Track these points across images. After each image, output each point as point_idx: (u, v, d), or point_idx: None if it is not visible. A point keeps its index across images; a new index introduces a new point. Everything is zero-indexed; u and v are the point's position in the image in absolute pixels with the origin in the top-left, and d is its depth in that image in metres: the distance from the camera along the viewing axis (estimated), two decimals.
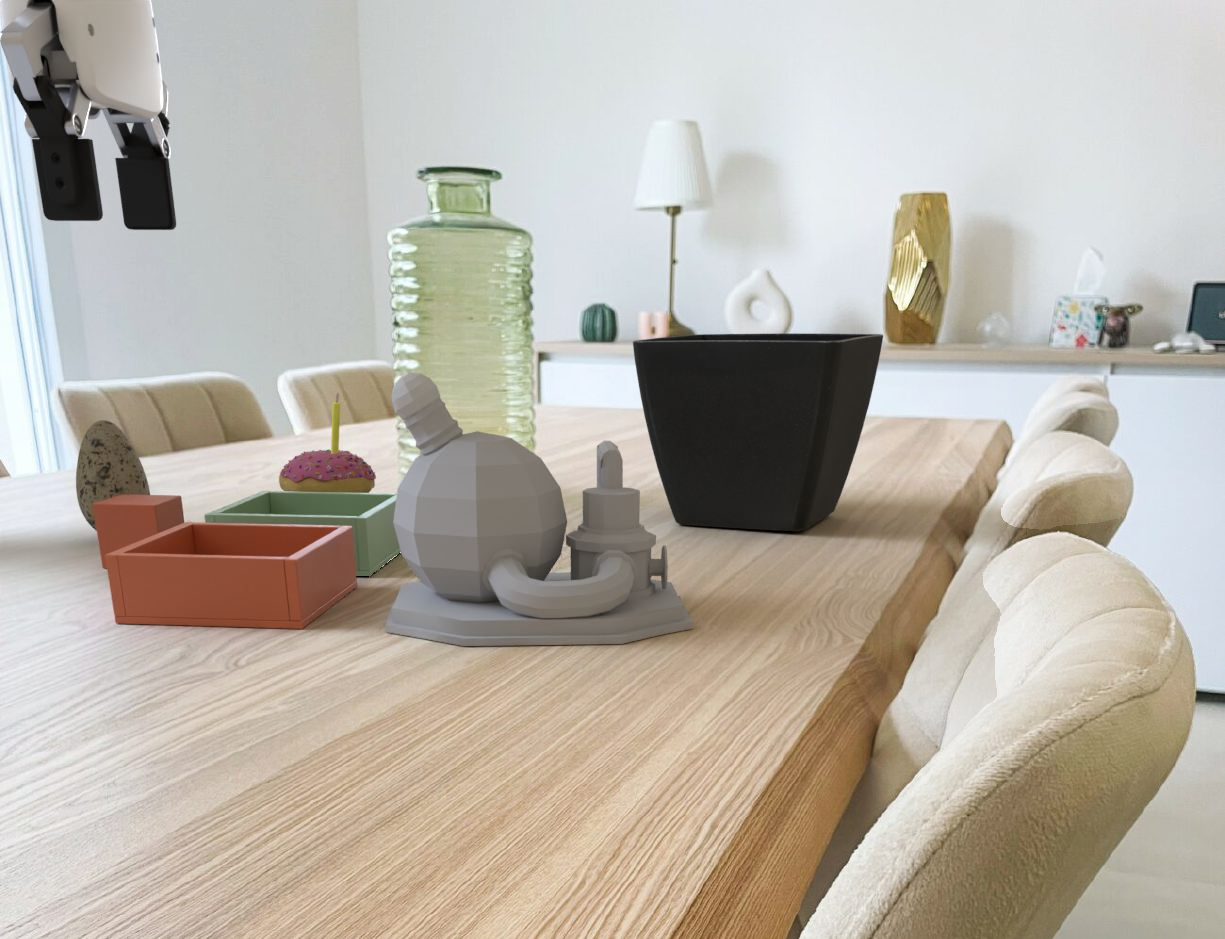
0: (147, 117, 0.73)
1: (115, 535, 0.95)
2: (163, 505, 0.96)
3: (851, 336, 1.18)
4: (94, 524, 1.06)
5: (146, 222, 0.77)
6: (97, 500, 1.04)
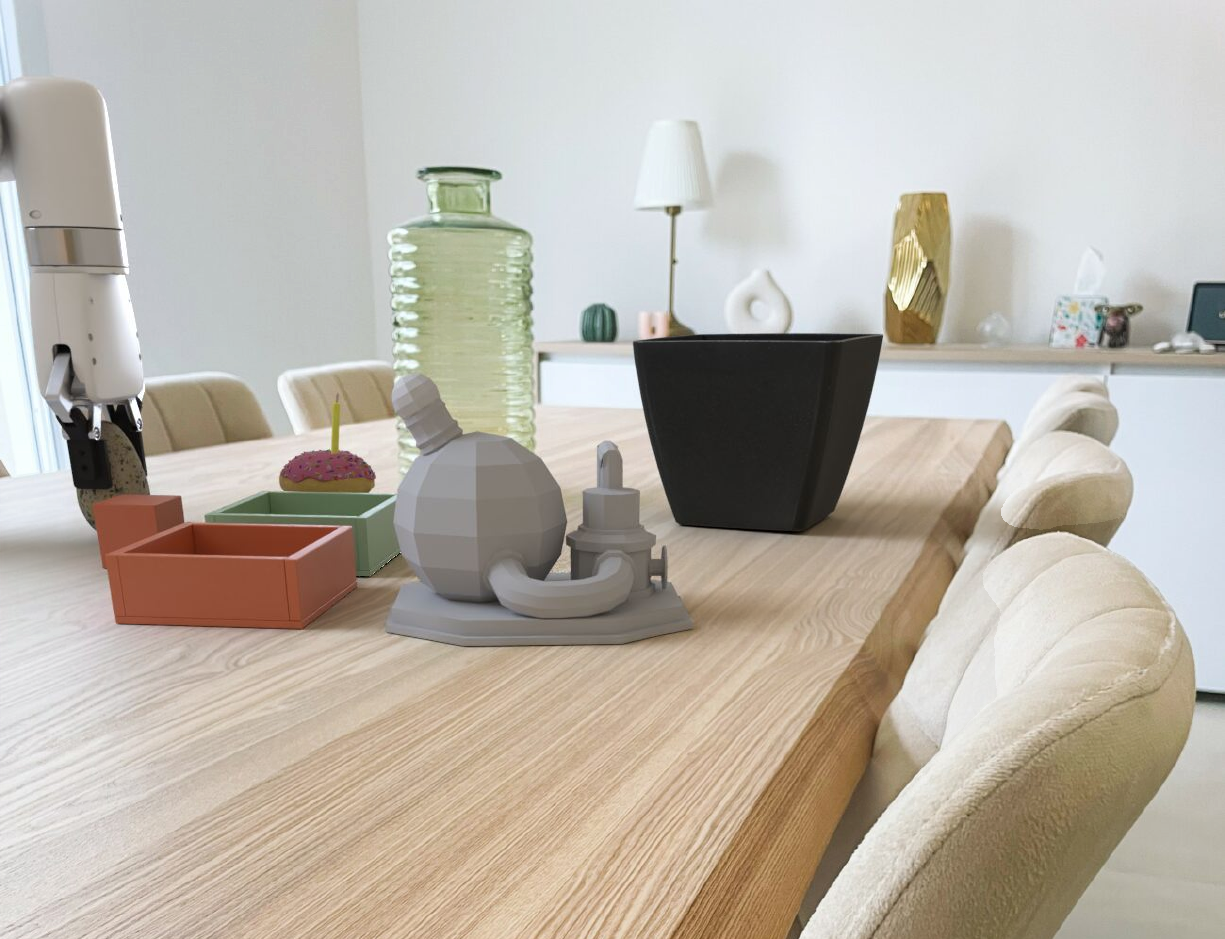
0: (132, 397, 1.06)
1: (115, 535, 0.95)
2: (163, 505, 0.96)
3: (851, 336, 1.18)
4: (94, 524, 1.06)
5: None
6: (97, 500, 1.04)
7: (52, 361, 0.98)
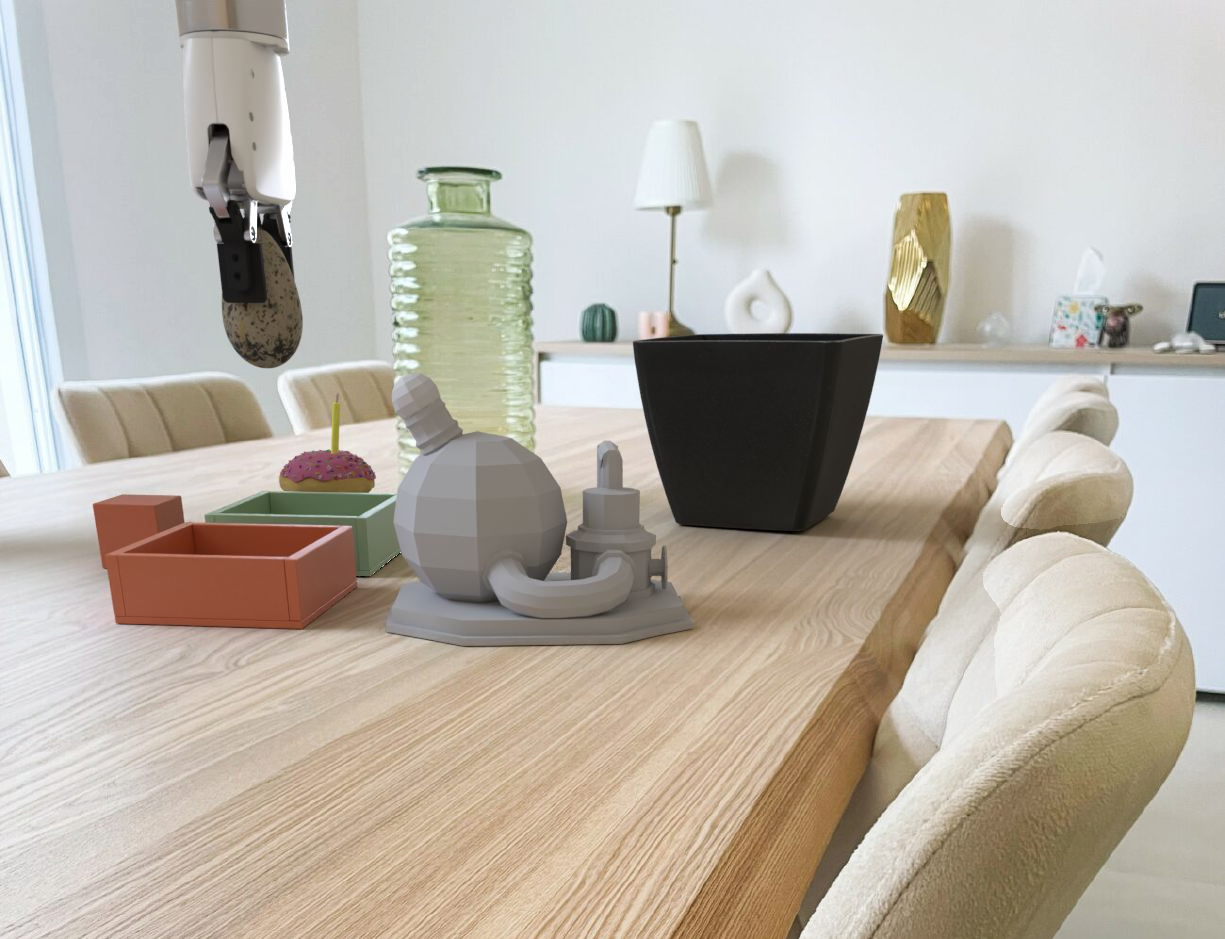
0: (284, 204, 0.94)
1: (115, 535, 0.95)
2: (163, 505, 0.96)
3: (851, 336, 1.18)
4: (242, 347, 0.93)
5: None
6: (248, 317, 0.91)
7: (207, 144, 0.85)
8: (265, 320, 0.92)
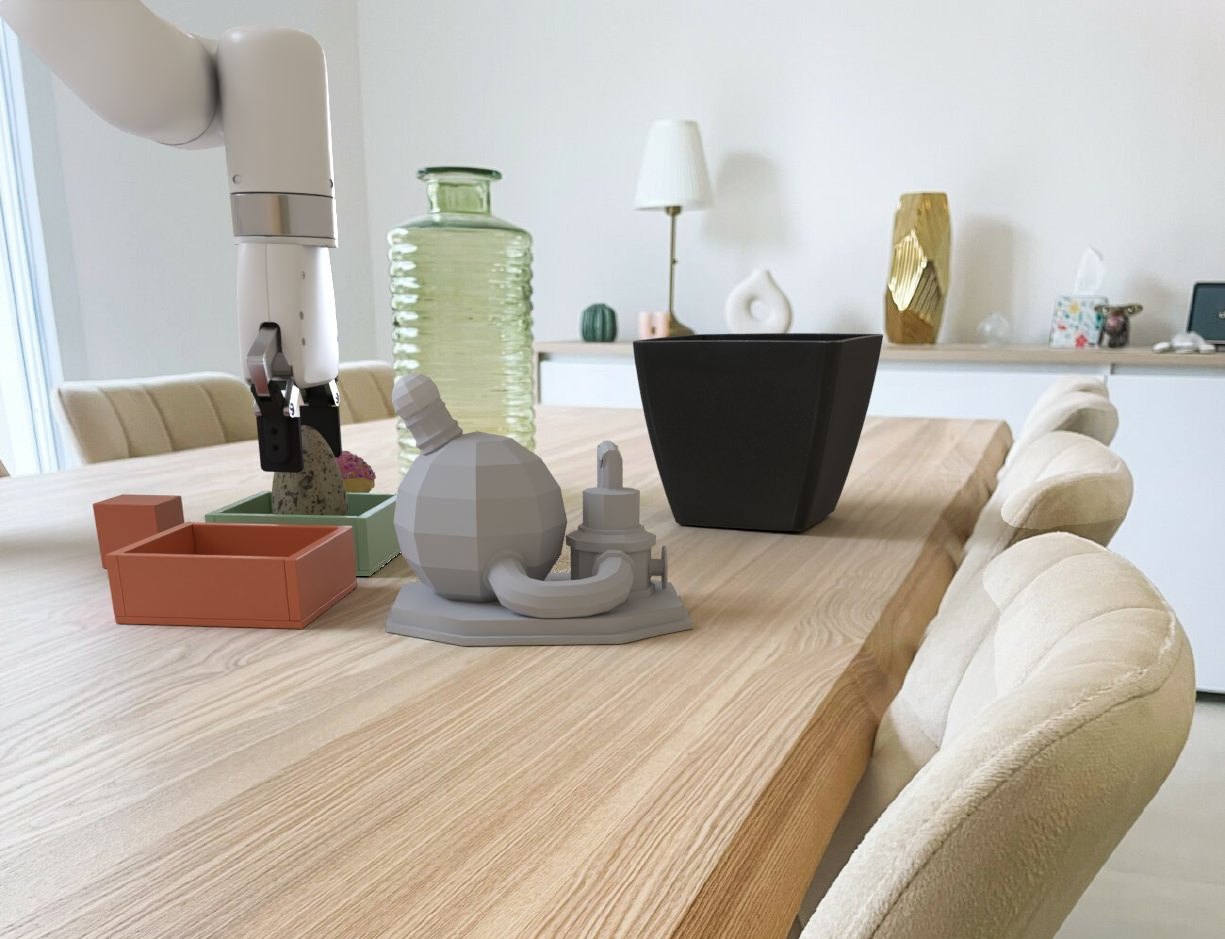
0: (328, 382, 0.97)
1: (115, 535, 0.95)
2: (163, 505, 0.96)
3: (851, 336, 1.18)
4: None
5: None
6: (298, 512, 0.96)
7: None
8: (313, 514, 0.96)
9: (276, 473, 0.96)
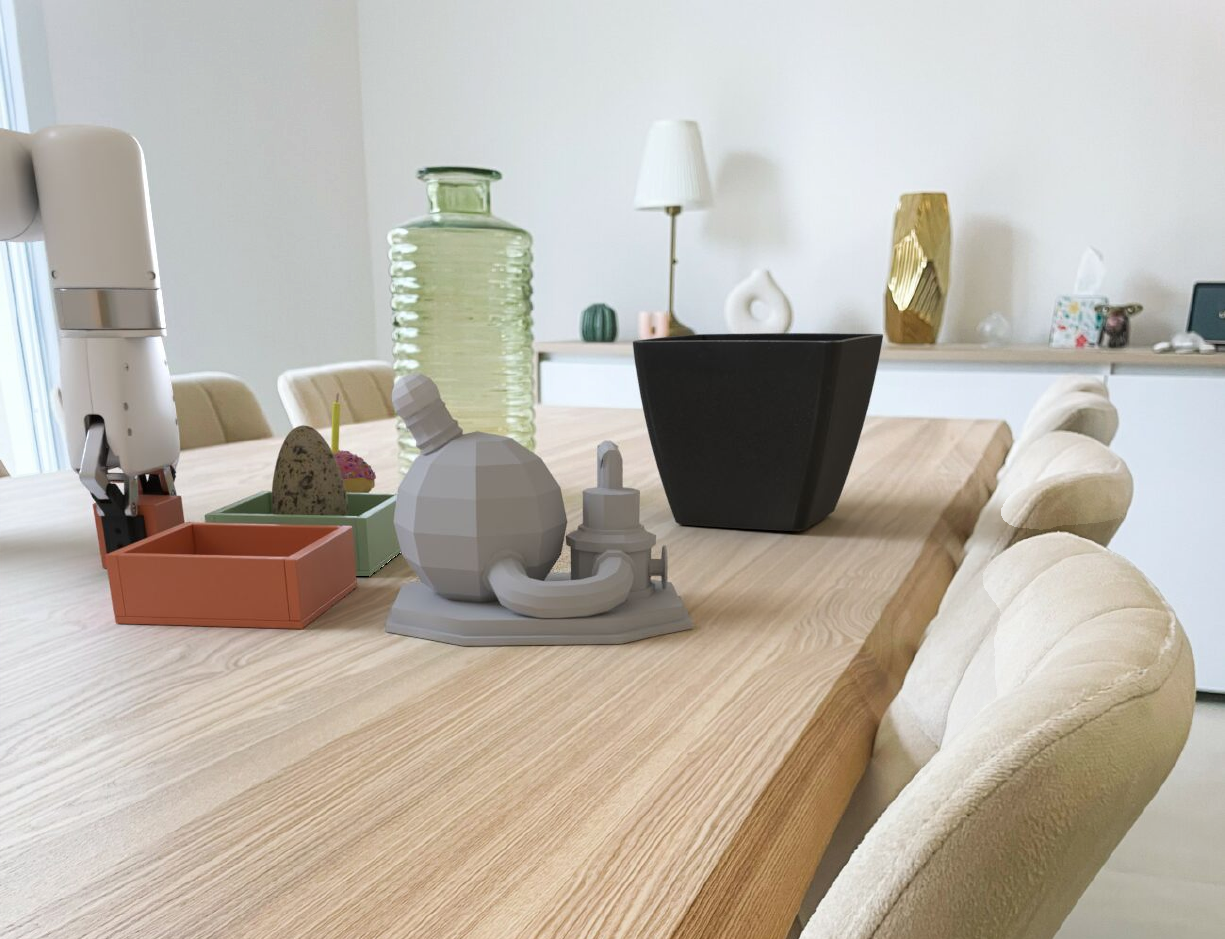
0: (168, 465, 0.98)
1: None
2: (163, 505, 0.96)
3: (851, 336, 1.18)
4: None
5: None
6: (298, 512, 0.96)
7: (84, 432, 0.90)
8: (313, 514, 0.96)
9: (276, 473, 0.96)
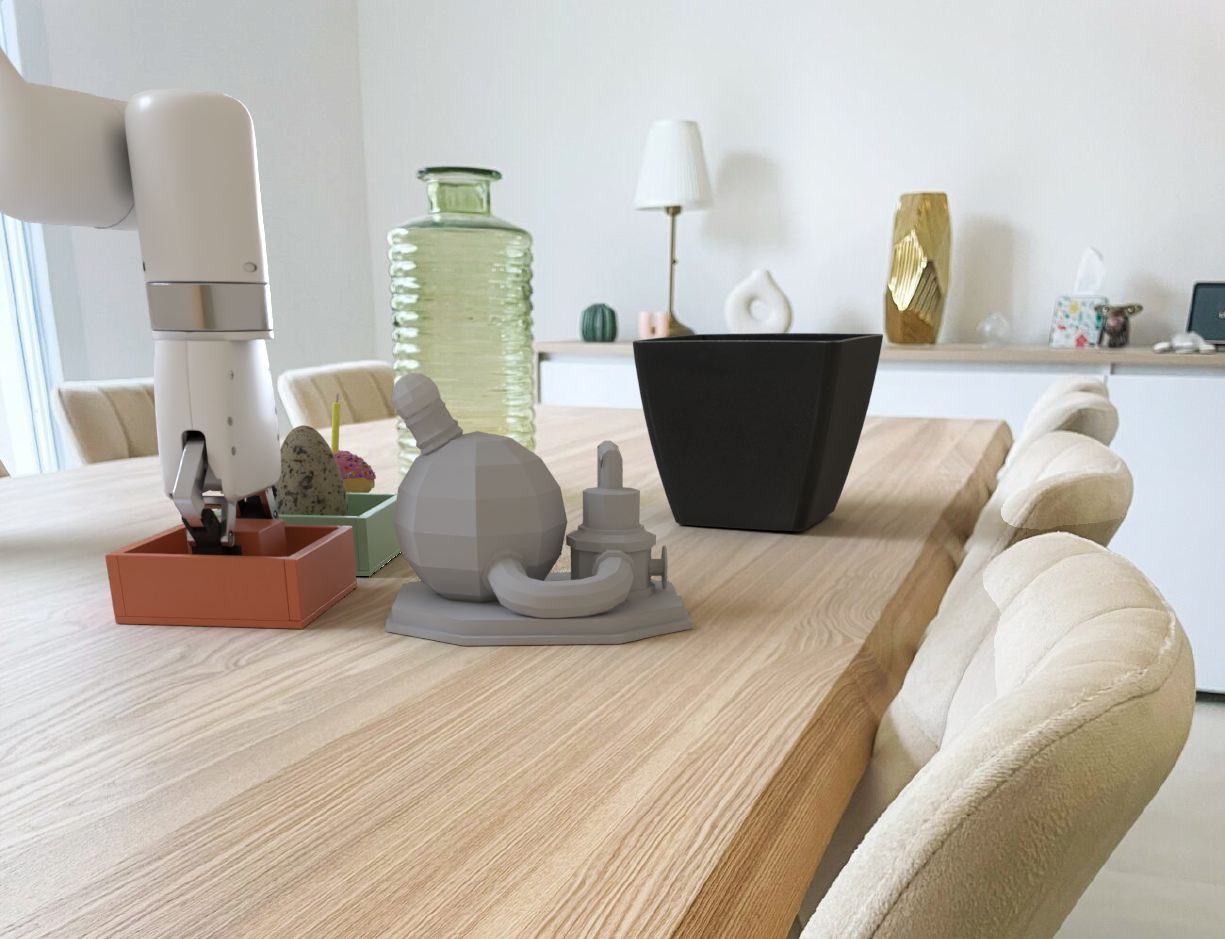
0: (269, 488, 0.85)
1: None
2: (267, 531, 0.82)
3: (851, 336, 1.18)
4: None
5: None
6: (298, 512, 0.96)
7: (181, 452, 0.77)
8: (313, 514, 0.96)
9: None
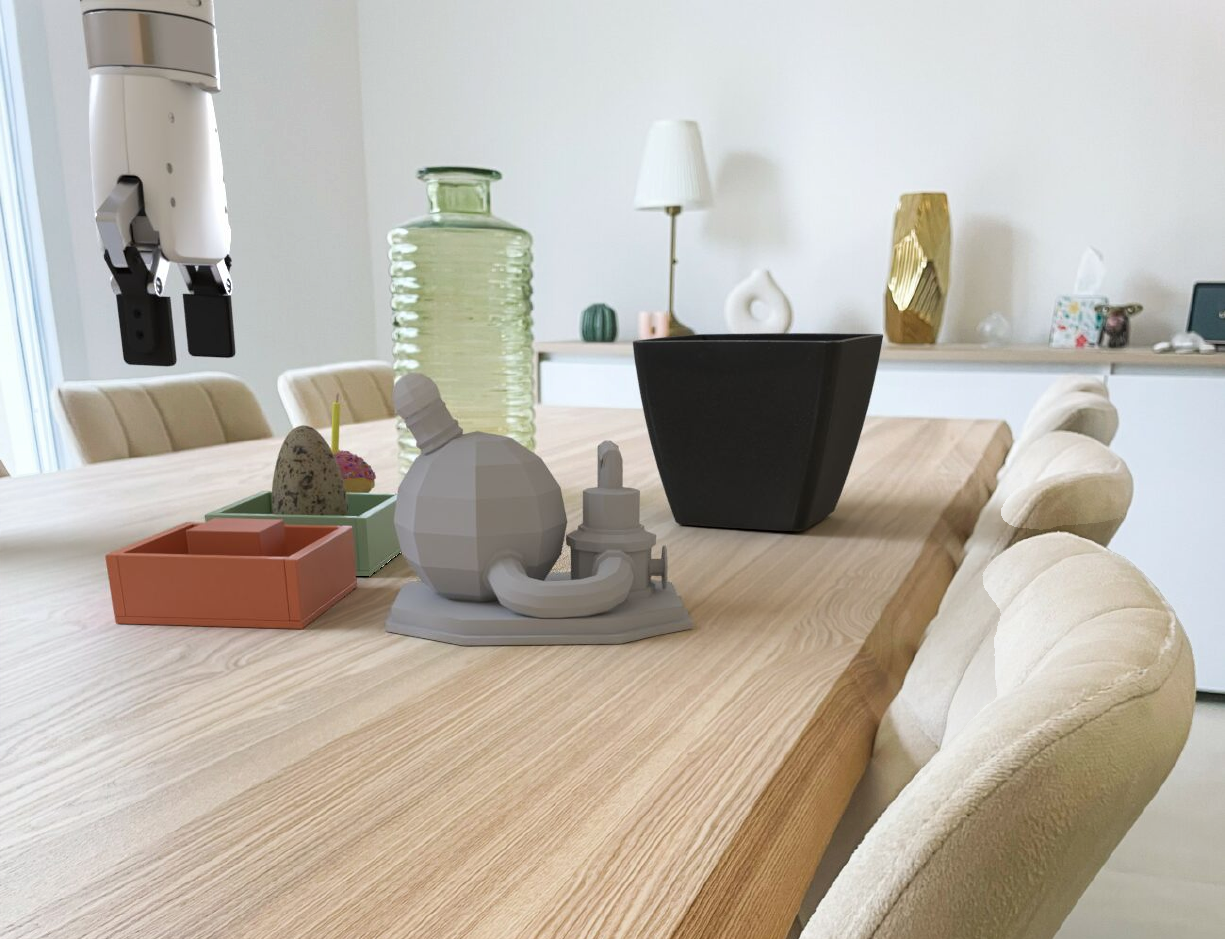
0: (214, 263, 0.81)
1: None
2: (267, 531, 0.82)
3: (851, 336, 1.18)
4: None
5: (208, 351, 0.85)
6: (298, 512, 0.96)
7: None
8: (313, 514, 0.96)
9: (276, 473, 0.96)
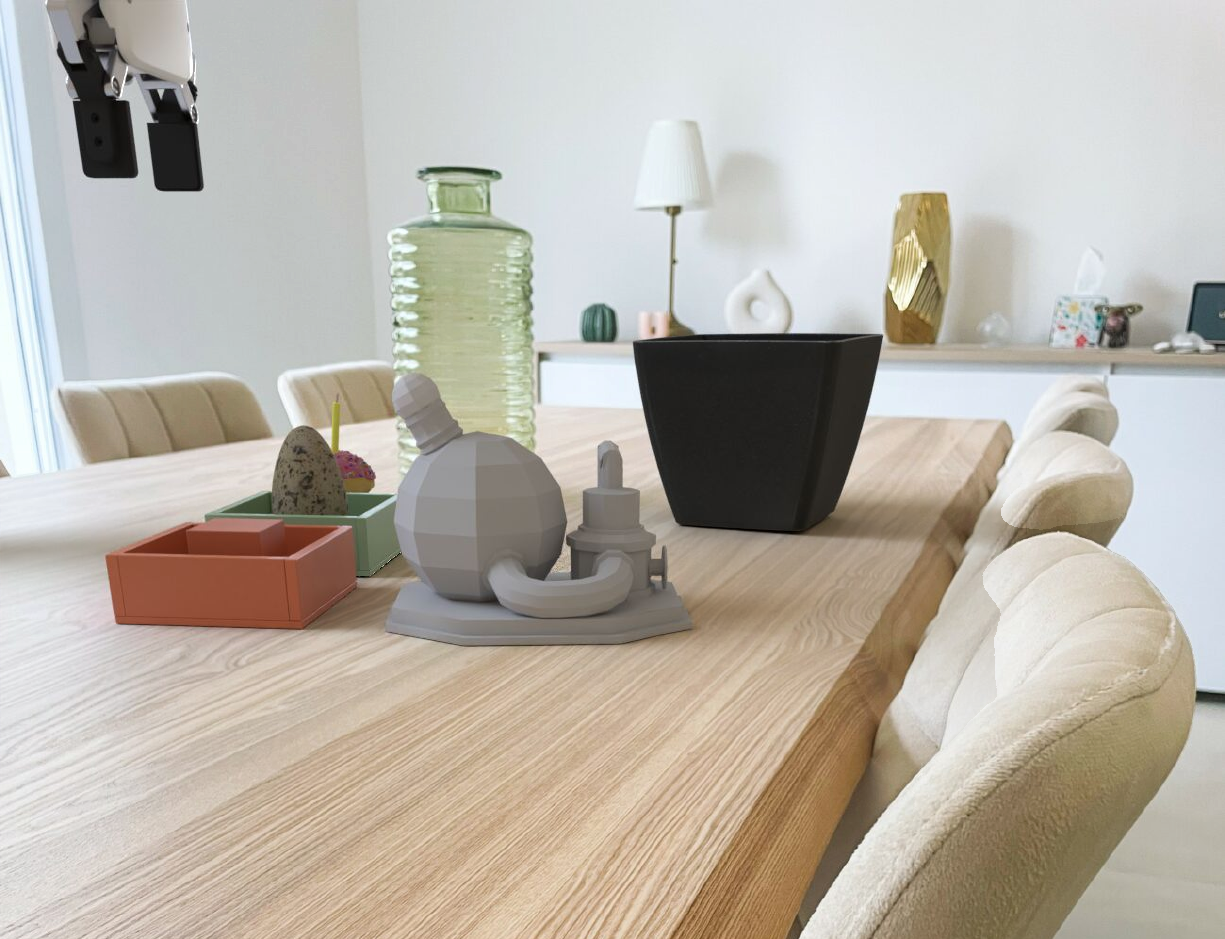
0: (178, 83, 0.78)
1: None
2: (267, 531, 0.82)
3: (851, 336, 1.18)
4: None
5: (175, 184, 0.81)
6: (298, 512, 0.96)
7: None
8: (313, 514, 0.96)
9: (276, 473, 0.96)
